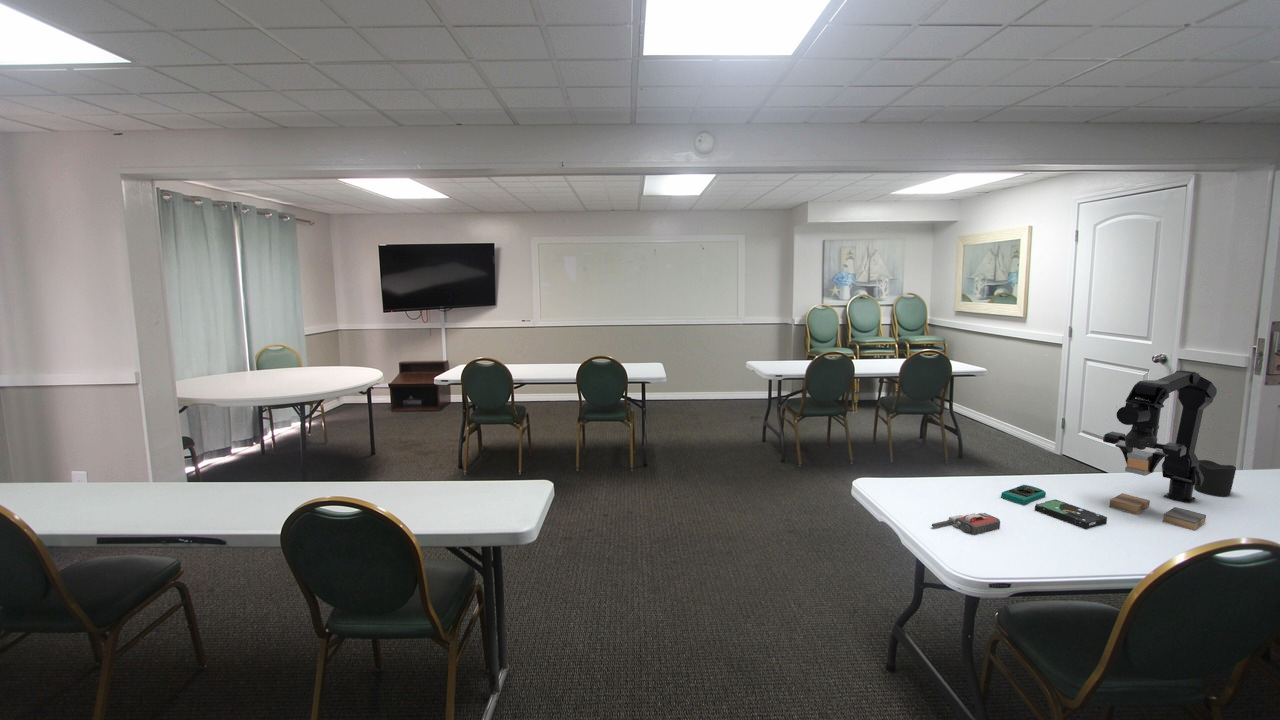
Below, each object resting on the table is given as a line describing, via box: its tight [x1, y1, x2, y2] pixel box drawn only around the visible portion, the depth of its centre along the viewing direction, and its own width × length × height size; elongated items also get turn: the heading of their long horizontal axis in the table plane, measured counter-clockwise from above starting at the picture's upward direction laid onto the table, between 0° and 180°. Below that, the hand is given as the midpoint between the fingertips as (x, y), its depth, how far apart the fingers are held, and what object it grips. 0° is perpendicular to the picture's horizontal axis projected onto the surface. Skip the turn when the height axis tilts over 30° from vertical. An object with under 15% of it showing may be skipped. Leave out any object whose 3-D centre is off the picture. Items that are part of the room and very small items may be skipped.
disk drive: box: [1034, 499, 1108, 530], centre depth 171 cm, size 10×3×15 cm
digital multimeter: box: [1000, 484, 1047, 506], centre depth 186 cm, size 7×15×3 cm, turn 121°
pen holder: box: [1193, 459, 1237, 498], centre depth 191 cm, size 9×9×10 cm
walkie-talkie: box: [931, 512, 1001, 536], centre depth 163 cm, size 9×4×20 cm
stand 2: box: [1162, 506, 1207, 531], centre depth 167 cm, size 10×7×2 cm
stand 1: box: [1108, 493, 1151, 515], centre depth 178 cm, size 10×7×2 cm
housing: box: [1124, 448, 1155, 477], centre depth 175 cm, size 7×5×6 cm
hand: (1139, 469), depth 175 cm, fingers closed on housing, 5 cm apart
